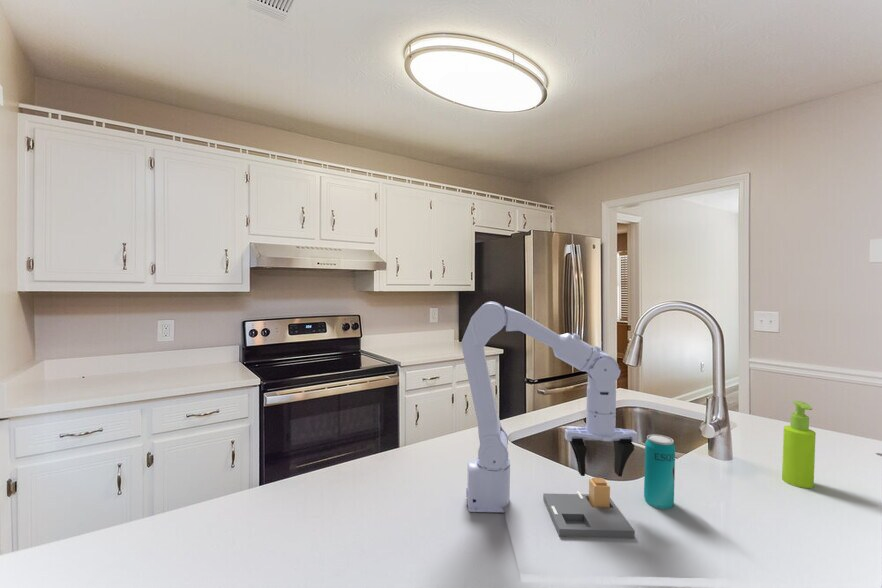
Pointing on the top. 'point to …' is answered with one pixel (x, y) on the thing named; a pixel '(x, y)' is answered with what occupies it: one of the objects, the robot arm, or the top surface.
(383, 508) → the top surface
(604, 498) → the orange plug
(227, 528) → the top surface
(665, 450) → the beverage can
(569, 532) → the socket board
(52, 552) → the top surface
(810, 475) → the soap dispenser
